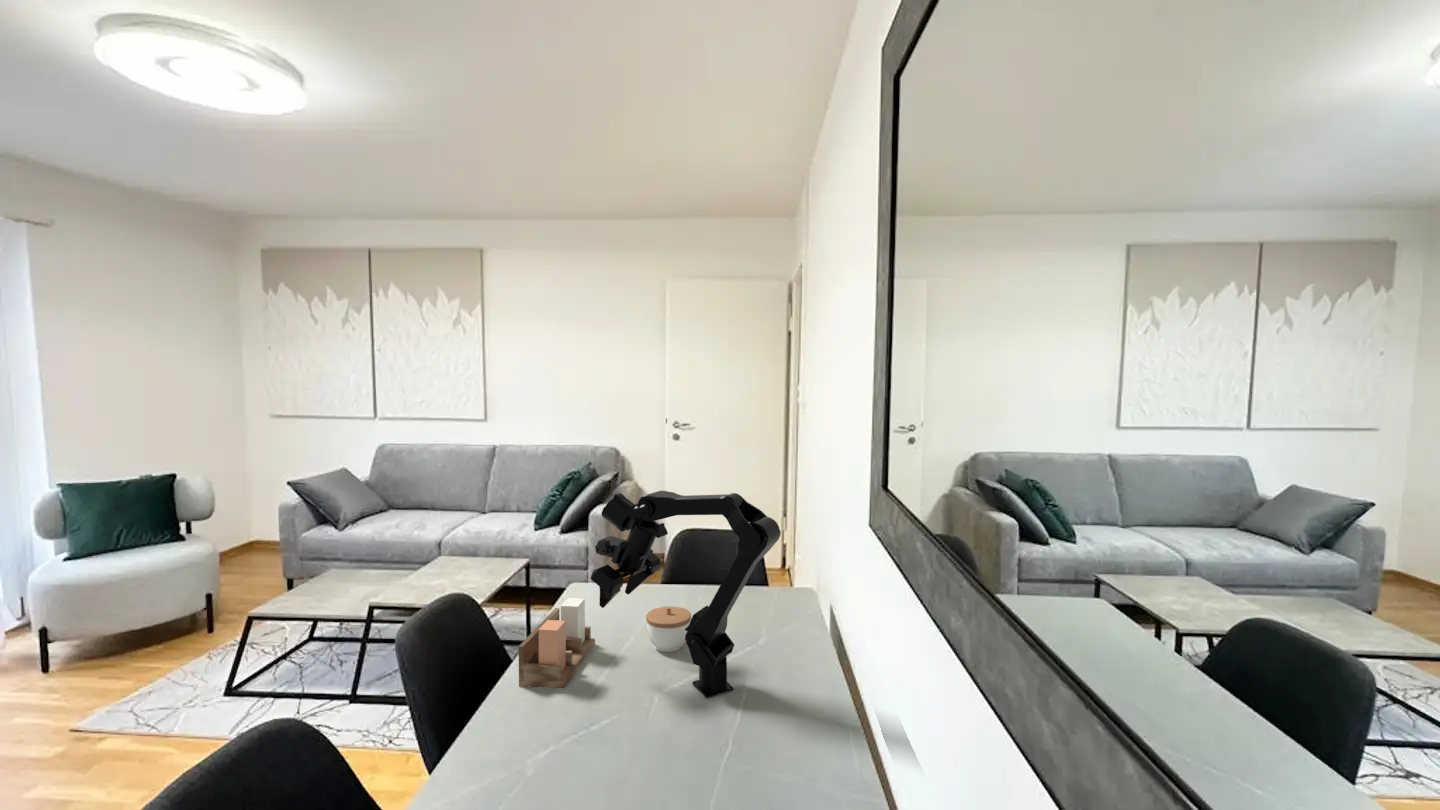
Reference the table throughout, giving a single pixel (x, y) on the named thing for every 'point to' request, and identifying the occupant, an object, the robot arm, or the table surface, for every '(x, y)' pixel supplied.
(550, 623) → the light orange tall block
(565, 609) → the white tall block
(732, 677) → the table surface
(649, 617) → the lidded jar
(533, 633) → the wooden desk organizer
